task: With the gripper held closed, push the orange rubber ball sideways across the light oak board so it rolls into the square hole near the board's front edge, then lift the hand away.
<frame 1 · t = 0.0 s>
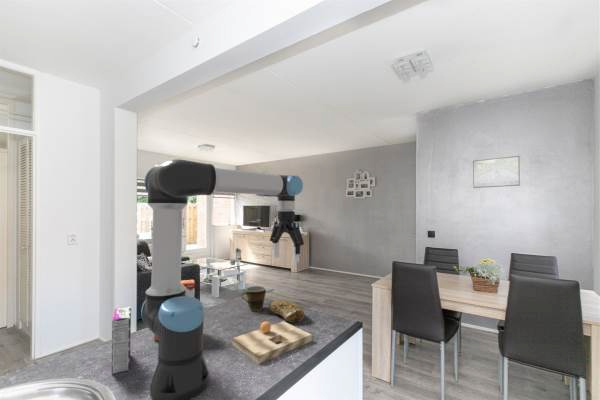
hand: (285, 259, 124), 28 cm above the worktop, tool pointing down, fingers open, 13 cm apart
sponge: (285, 316, 134), on the worktop
cracker box: (174, 336, 112), on the worktop
board: (272, 343, 107), on the worktop
ball: (265, 327, 110), point 4 cm above the worktop, touching board
candy bar box: (121, 365, 91), on the worktop
ceramic cup: (253, 310, 142), on the worktop
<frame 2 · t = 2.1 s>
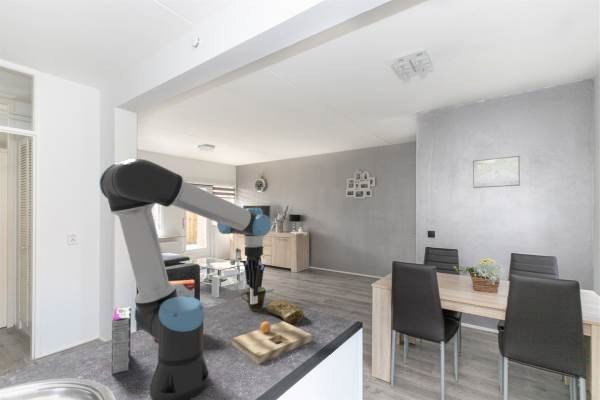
hand: (253, 303, 117), 11 cm above the worktop, tool pointing down, fingers closed
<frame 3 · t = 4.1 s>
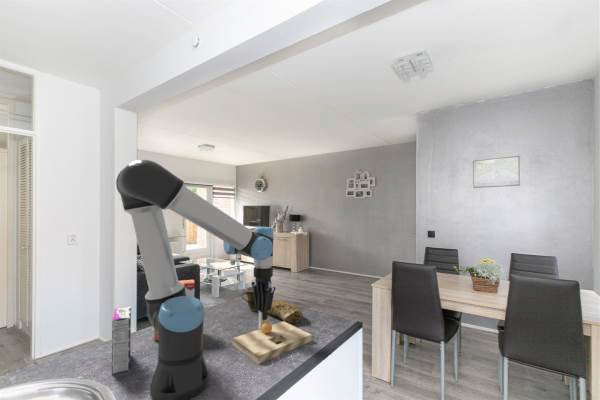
hand: (262, 327, 112), 4 cm above the worktop, tool pointing down, fingers closed
ball: (266, 327, 110), point 4 cm above the worktop, tilted 19°, touching board
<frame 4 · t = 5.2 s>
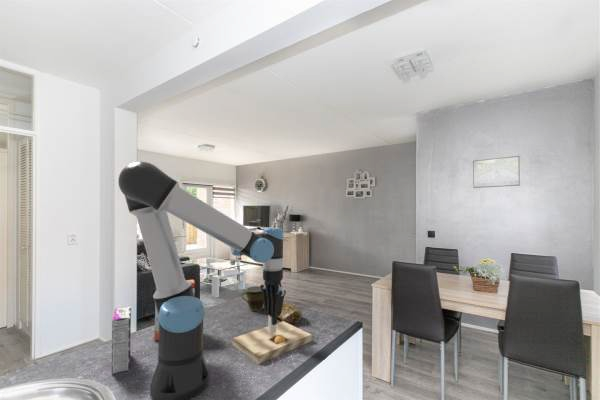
hand: (272, 332, 107), 4 cm above the worktop, tool pointing down, fingers closed
ball: (279, 341, 104), point 2 cm above the worktop, tilted 112°
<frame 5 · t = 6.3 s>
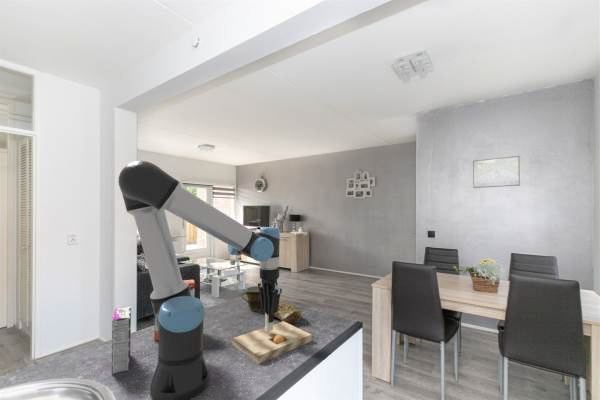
hand: (268, 330, 109), 4 cm above the worktop, tool pointing down, fingers closed
ball: (278, 340, 104), point 2 cm above the worktop, tilted 127°
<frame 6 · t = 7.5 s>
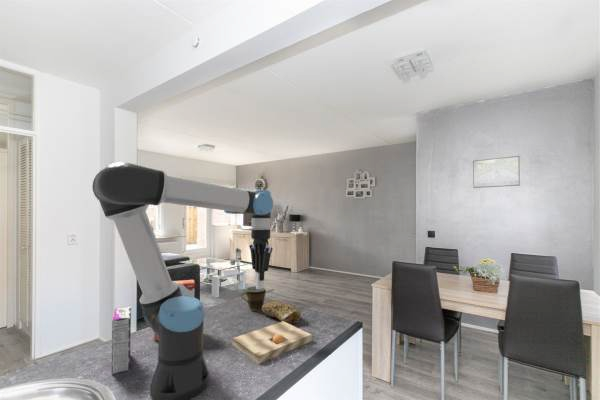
hand: (259, 288, 113), 19 cm above the worktop, tool pointing down, fingers closed
ball: (278, 340, 105), point 2 cm above the worktop, tilted 143°
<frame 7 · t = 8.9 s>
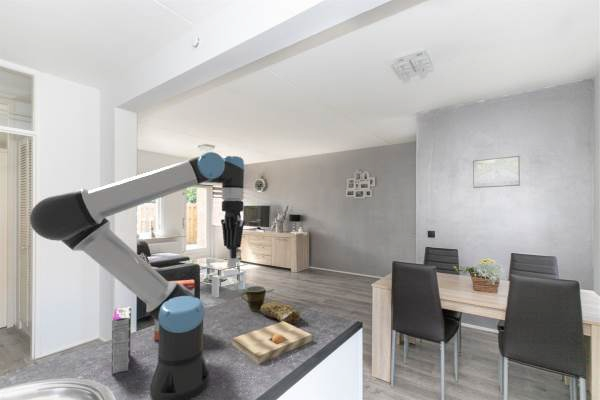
hand: (231, 267, 101), 29 cm above the worktop, tool pointing down, fingers closed
ball: (277, 340, 105), point 2 cm above the worktop, tilted 151°
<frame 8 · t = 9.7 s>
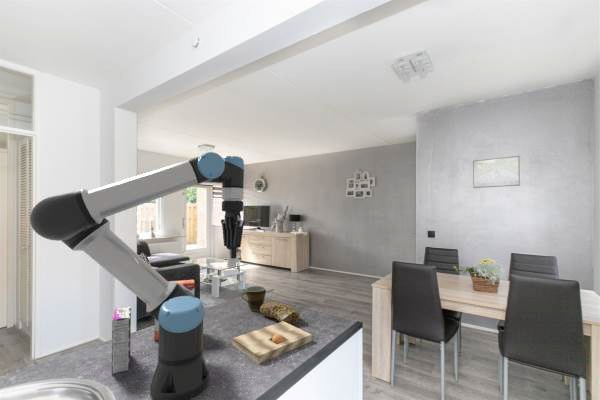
hand: (231, 267, 101), 29 cm above the worktop, tool pointing down, fingers closed
at the end: ball 0.7 cm from the target spot on the board, point 2.0 cm above the board's base; ball point 2.0 cm above the worktop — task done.
